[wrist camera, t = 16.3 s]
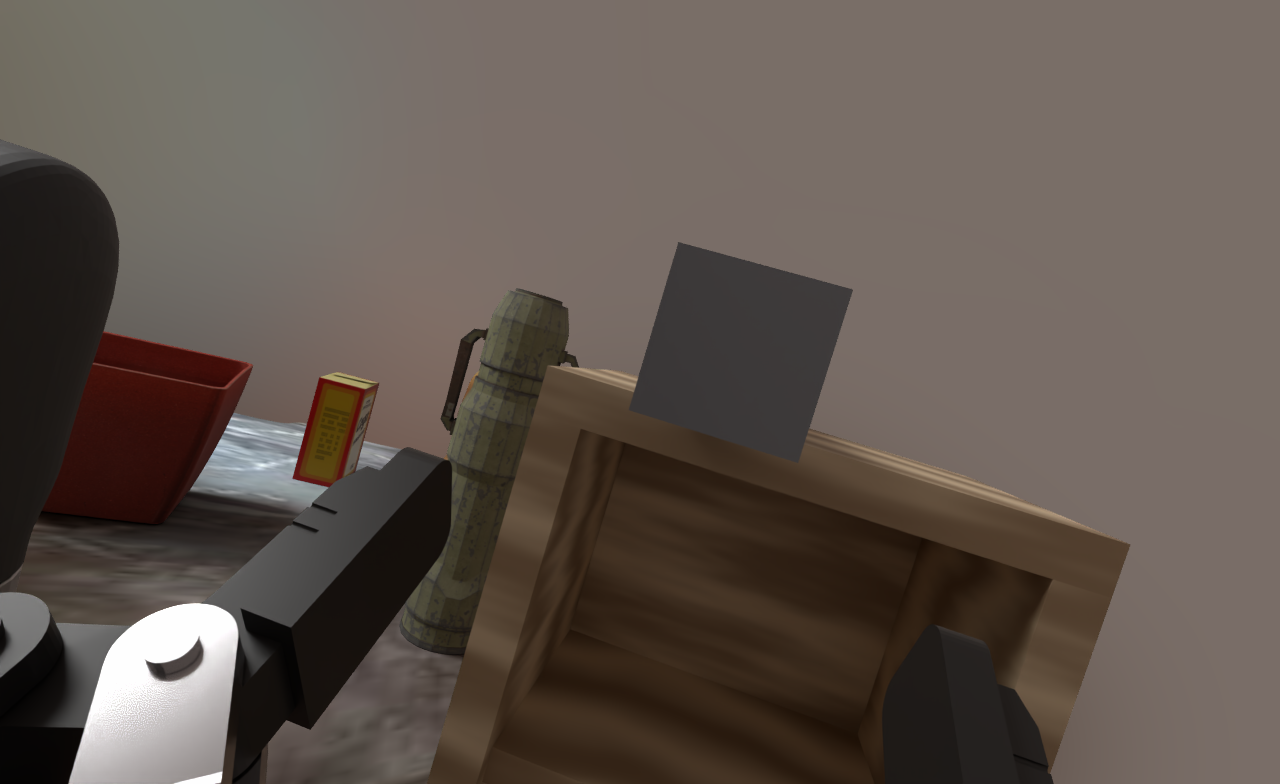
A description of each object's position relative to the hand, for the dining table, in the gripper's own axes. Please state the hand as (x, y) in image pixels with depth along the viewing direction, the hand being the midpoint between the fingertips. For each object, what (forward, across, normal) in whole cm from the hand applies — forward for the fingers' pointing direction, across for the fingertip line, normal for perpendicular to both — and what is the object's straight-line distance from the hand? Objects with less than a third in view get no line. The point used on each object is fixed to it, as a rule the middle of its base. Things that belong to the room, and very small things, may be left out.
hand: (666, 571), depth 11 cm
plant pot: (+30, +62, +51) cm, 86 cm away
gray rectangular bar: (+16, 0, +7) cm, 17 cm away
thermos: (+29, +20, +50) cm, 62 cm away
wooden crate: (+5, -4, +36) cm, 37 cm away
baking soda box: (+56, +56, +66) cm, 103 cm away
